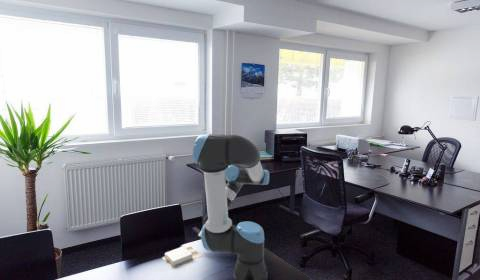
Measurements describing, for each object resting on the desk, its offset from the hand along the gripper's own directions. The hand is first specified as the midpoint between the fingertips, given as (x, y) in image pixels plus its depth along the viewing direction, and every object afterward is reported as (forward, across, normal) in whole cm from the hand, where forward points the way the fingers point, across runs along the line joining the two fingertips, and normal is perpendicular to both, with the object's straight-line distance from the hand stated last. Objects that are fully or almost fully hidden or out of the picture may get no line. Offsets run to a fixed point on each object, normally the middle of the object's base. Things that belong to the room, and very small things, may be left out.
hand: (200, 236), depth 150 cm
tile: (+9, 0, +1) cm, 9 cm away
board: (+13, 0, +2) cm, 13 cm away
